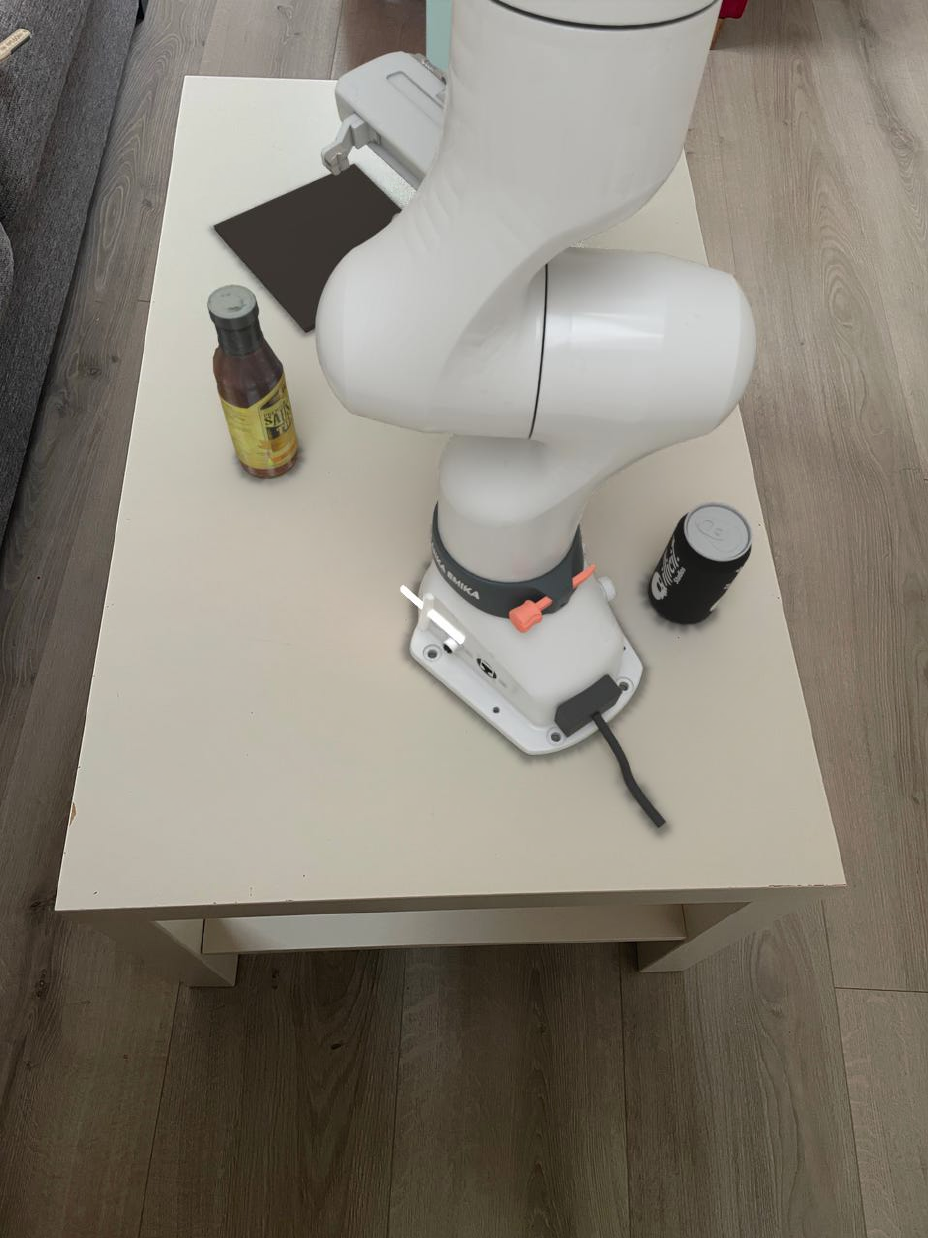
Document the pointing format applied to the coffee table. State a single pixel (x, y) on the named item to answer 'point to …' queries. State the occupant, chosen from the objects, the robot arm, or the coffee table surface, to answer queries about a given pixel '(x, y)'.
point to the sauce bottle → (251, 385)
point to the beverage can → (700, 562)
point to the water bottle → (438, 32)
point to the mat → (308, 236)
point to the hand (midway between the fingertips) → (361, 196)
